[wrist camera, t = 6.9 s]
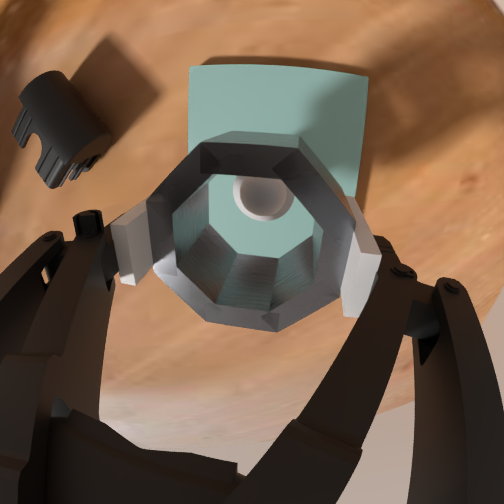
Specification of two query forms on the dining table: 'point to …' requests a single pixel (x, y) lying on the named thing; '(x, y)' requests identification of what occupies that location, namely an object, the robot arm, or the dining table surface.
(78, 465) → the robot arm
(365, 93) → the post stand
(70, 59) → the dining table surface
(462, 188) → the dining table surface
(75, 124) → the end cap
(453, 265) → the dining table surface
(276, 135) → the collar
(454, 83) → the dining table surface
